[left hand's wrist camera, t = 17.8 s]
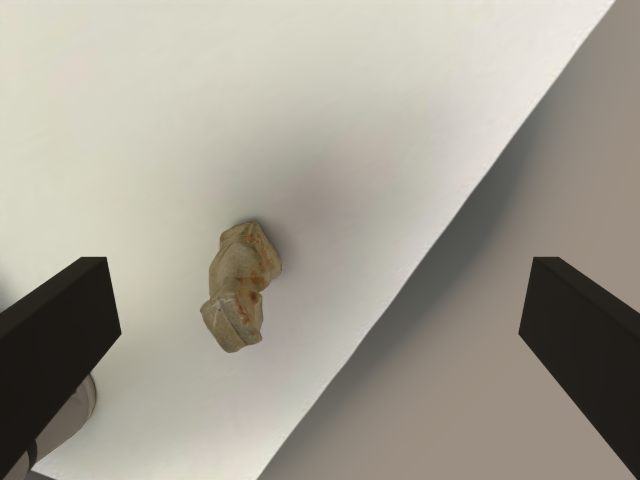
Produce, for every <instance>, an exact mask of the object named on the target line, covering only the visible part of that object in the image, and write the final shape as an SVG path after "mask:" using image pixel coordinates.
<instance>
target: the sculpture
mask: <svg viewBox="0 0 640 480" xmlns="http://www.w3.org/2000/svg"><path fill="white" fill-rule="evenodd" d="M281 270H282V265H281V261H280V258H279V256H278V255H277V253H276V251H275V250H274V248H273V247H272V245H271V244H270V242H269V241H268V240H267V238H266V237H265V235H264V234H263V232H262V230H261V227H260V225H259V224H258V223H257V222H252V223H244V224H241V225H238V226H236V227H233V228H231V229H229V230H227V231H225V232H223V233H222V234H221V237H220V251H219V252H218V254H217V255H216V257H215V258H214V260H213V262H212V263H211V265H210V268H209V291H210V300H209V301H207V302H206V303H204V304H203V306H202V307H201V309H200V312H201V314H202V317H203V320H204V322H205V324H206V326H207V328H208V329H209V331H210V332H211V333H212V335H213V336H214V337H215V339H216V340H217V342H218V343H219V345H220V347H221V348H222V349H223V350H225V351H226V352H227V353H232V352H237V351H238V350H240V349H241V348H243V347H245V346H248V345H253V344H256V343H259V342H260V341H262V336H261V334H260V329H261V324H262V322H263V312H262V295H261V294H259V292H260V291H262V290H264V289H265V288H266V287H267V286H268V285H269V283H270V280H271V279H274V278H276V277H278V276H279V275H280V273H281Z"/></svg>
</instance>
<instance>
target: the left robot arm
mask: <svg viewBox="0 0 640 480" xmlns="http://www.w3.org/2000/svg"><path fill="white" fill-rule="evenodd" d="M121 334H122V333H121V328H120V323H119V318H118V313H117V308H116V303H115V298H114V293H113V288H112V283H111V278H110V272H109V267H108V262H107V257H81V258H79V259H78V260H76V261H75V262H73V263H72V264H71V265H69V266H68V267H66V268H65V269H63V270H62V271H61V272H59V273H58V274H56V275H55V276H53V277H52V278H50V279H49V280H48V281H46V282H45V283H43V284H42V285H40V286H39V287H38V288H36V289H35V290H33V291H32V292H30V293H29V294H28V295H26V296H25V297H23V298H22V299H20V300H19V301H18V302H16V303H15V304H13V305H12V306H10V307H9V308H8V309H6V310H5V311H3V312H2V313H0V480H23V479H24V478H25V476H26V475H27V474H28V472H29V471H30V470H31V468H32V467H33V466H34V465H35V463H37V462H38V461H39V460H41V459H42V458H43V457H45V456H46V455H47V454H49V453H50V452H51V451H53V450H54V449H55V448H57V447H58V446H59V445H61V444H62V443H64V442H65V441H66V440H68V439H69V438H70V437H72V436H73V435H74V434H75V433H76V432H77V431H78V430H79V429H80V428H81V427H82V426H83V425H84V423H85V422H86V420H87V419H88V418H89V416H90V415H91V413H92V411H93V408H94V405H95V388H94V384H93V382H92V379H91V377H90V375H89V373H90V372H91V371H92V370H93V368H94V367H95V366H96V365H97V363H98V362H99V361H100V360H101V359H102V357H103V356H104V355H105V354H106V352H107V351H108V350H109V349H110V348H111V346H112V345H113V344H114V343H115V341H116V340H117V339H118V338H119V336H120V335H121ZM518 334H519V335H520V336H521V338H522V339H523V340H524V341H525V343H526V344H527V345H528V346H529V347H530V349H531V350H532V351H533V352H534V354H535V355H536V356H537V357H538V359H539V360H540V361H541V362H542V363H543V365H544V366H545V367H546V368H547V370H548V371H549V372H550V373H551V374H552V376H553V377H554V378H555V379H556V381H557V382H558V383H559V384H560V386H561V387H562V388H563V389H564V390H565V392H566V393H567V394H568V395H569V397H570V398H571V399H572V400H573V402H574V403H575V404H576V405H577V406H578V408H579V409H580V410H581V411H582V413H583V414H584V415H585V416H586V417H587V419H588V420H589V421H590V422H591V424H592V425H593V426H594V427H595V429H596V430H597V431H598V432H599V433H600V435H601V436H602V437H603V438H604V440H605V441H606V442H607V443H608V444H609V446H610V447H611V448H612V449H613V451H614V452H615V453H616V454H617V456H618V457H619V458H620V459H621V460H622V462H623V463H624V464H625V465H626V467H627V468H628V469H629V470H630V472H631V473H632V474H633V475H634V476H635V478H636V479H637V480H640V313H638V312H637V311H635V310H634V309H632V308H631V307H630V306H628V305H627V304H625V303H624V302H622V301H621V300H620V299H618V298H617V297H615V296H614V295H612V294H611V293H610V292H608V291H607V290H605V289H604V288H602V287H601V286H600V285H598V284H597V283H595V282H594V281H592V280H591V279H590V278H588V277H587V276H585V275H584V274H582V273H581V272H579V271H578V270H577V269H575V268H574V267H572V266H571V265H569V264H568V263H567V262H565V261H564V260H562V259H561V258H559V257H534V258H533V263H532V267H531V272H530V278H529V283H528V288H527V293H526V298H525V303H524V308H523V313H522V318H521V323H520V328H519V333H518Z"/></svg>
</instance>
